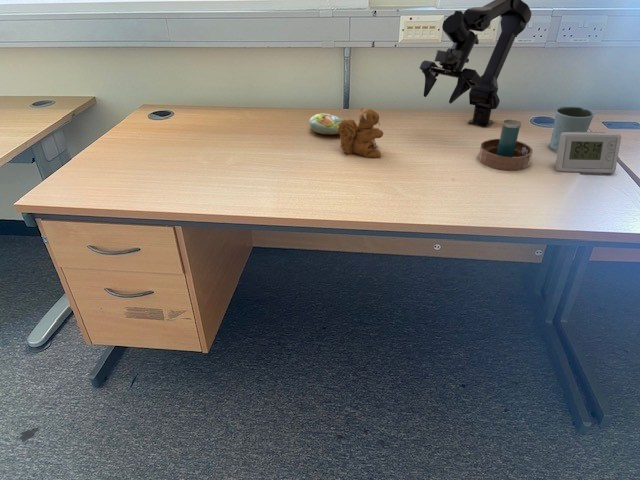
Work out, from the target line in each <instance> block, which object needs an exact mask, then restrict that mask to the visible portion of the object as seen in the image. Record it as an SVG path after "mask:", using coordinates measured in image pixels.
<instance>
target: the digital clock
mask: <svg viewBox="0 0 640 480" xmlns="http://www.w3.org/2000/svg"><path fill="white" fill-rule="evenodd" d="M621 140H622V134H621V133H618V132H605V131H587V132H563V133H561V134H560V137H559V143H558V150H557V151H556V159H555V164H554V165H555V166H554V168H555V172H560V173H579V175H580V174H581V175H582V174H583V175H601V174H614V173H615V172H616V169H617V163H618V158H619V152H620V146H621Z"/></svg>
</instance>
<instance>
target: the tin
mask: <svg viewBox="0 0 640 480" xmlns="http://www.w3.org/2000/svg"><path fill="white" fill-rule="evenodd" d="M521 126H522V122H521V121H519V120H516V119H505V120H503V121H502V127H501V131H500V137H499V139H500V141H499V145H498V150H497V155H499V156H505V157H513V155H514V151H515V146H516V142H517V141H518V137H519V133H520V128H521Z"/></svg>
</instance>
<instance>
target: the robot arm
mask: <svg viewBox="0 0 640 480" xmlns="http://www.w3.org/2000/svg"><path fill="white" fill-rule="evenodd" d="M498 17H500V18H501V19H500V29H501V30H500V31H501V32H500V34H499V37H498V39H497V41H496V43H495V45H494V48H493V50H492V53H491V55H490V58H489V60H488V62H487V64H486V67H485V70H484V72H483V74H482V75H481V76H480V74H479V73H478V71H477V70H476V69H472V68H468V67H465V65H466V64H468V63H469V62H470V59H469V56H470V54H471V52H472V50H473V48H474V46H475V45H479V43H480V42H479V38H478V37H479V36H478V34H477V33H475V32H480V33H481V32H485V30H487V29H488V28H489V27H490V26H491V22H492V21H493V20H495V19H497V18H498ZM531 18H532V11H531V8H530V6H529V5H528V4H527V3H526V2H525V1H523V0H492V1H490V2H488V3H487V4H485V5H483V6H474V7H469V8H466V9H465V10H464V12H463V11H462V10H454V12H453V14H451V15H449V16H448V17H446V19H444V20H443V22H442V27H441V28H442V31H443V32H444V34H445V36H446V37H448V39H449V40H450V41H451V43H453V44H452V45H451V48H448V47H447V49H446V51H445V50H441V49H436V51H435V55H434V59H433V61H431V60H423V61H422V62H421V63H420V65H419V67H418V68H419V70H420V71H421V73H422V74H423V75H424V87H423V97H424V98H427V97H428V95H429V94H430V92H431V90H432V89H433V87H434V86H435V84H436V82H437V80H438V79H437V77H439V76H440V75H441V76H446V77H450V78H455V79H457V82H456V85H455V87H454V89H453V91H452V93H451V95H450V98H449V100H448V103H449V104H453V103H454V102H455V101H456V100H457V99H458V98H460V97H461V96H462V95H463V94H465V93H466V92H468V91H469V92H468V100H469V105H471V106H474V108H473V115H472V119H471V120H469V121H468V124H470V125H474V126H481V127H488V126H489V125H490V124H492V123H493V120H492V119H491V114H492V110H496V109H497V108H498V107H499V105H500V102H501V100H500V97H499V95H498V91H499V84H498V79H499V76H500V73H501V72H502V69H503V67H504V65H505V62H506V60H507V58H508V55H509V53H510V51H511V48H512V46H513V44H514V41H515V39H516V37H517V36H519V35H520V34H521V33H522V32H523V31H524V30H525V29H526V27H527V25H528V23H529V22H530V21H531ZM435 62H437V63H438V64H439V66H438V65H437V64H436V63H435Z"/></svg>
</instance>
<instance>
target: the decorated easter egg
mask: <svg viewBox="0 0 640 480" xmlns="http://www.w3.org/2000/svg"><path fill="white" fill-rule="evenodd" d="M342 120H343V119H341V118H340V117H338V116H336V115H333V114H329V113H317V114H315V115H313V116H312V117H311V118H310V119H309V122H308V124H309V128H310V129H311V130H312V131H313V132H315V133H317V134H320V135H327V136H328V135H339V133H338V130H337V129H338V128H339V126H338V124H339V123H341V121H342Z"/></svg>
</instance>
